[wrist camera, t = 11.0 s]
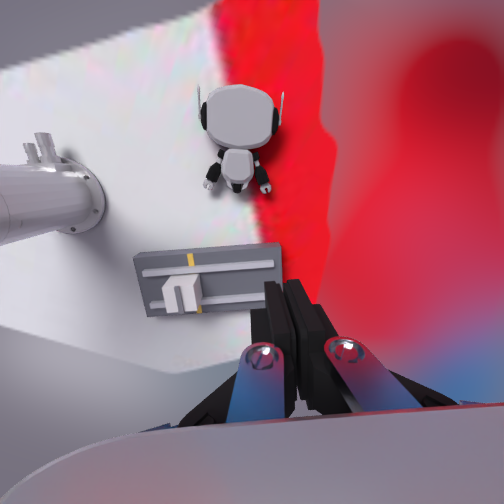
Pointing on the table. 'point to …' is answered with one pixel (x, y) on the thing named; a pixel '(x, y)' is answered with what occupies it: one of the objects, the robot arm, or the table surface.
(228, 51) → the table surface
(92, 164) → the table surface
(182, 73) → the table surface
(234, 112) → the robot toy
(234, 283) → the grey slider rail base
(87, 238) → the table surface
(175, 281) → the fader tab
